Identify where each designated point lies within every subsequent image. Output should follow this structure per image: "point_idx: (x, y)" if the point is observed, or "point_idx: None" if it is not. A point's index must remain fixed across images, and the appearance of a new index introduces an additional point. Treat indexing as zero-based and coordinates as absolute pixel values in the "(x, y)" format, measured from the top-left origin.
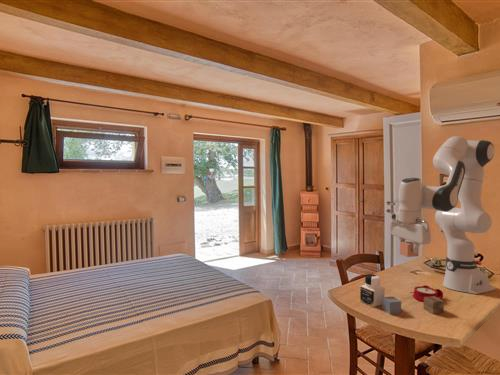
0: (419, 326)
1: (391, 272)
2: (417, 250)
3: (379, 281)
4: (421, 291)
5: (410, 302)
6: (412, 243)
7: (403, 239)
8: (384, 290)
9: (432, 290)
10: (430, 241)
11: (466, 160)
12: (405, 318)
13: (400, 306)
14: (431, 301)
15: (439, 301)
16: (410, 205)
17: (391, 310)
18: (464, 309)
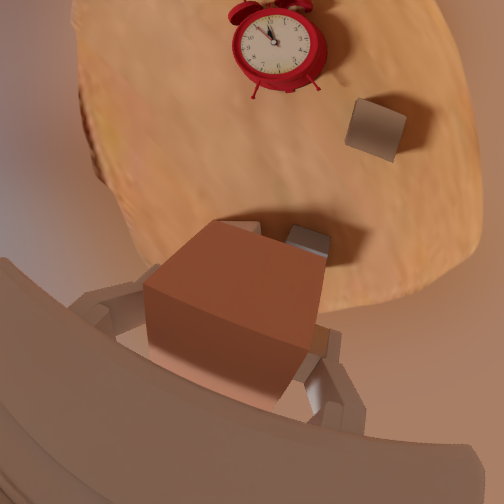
0: (403, 267)
1: (88, 15)
2: (339, 345)
3: None
4: (272, 63)
5: (286, 130)
6: (241, 363)
7: (109, 333)
8: None
9: (281, 17)
10: (482, 470)
11: None
12: (358, 255)
13: (328, 248)
14: (385, 159)
15: (401, 134)
16: None
17: None
18: (404, 31)
